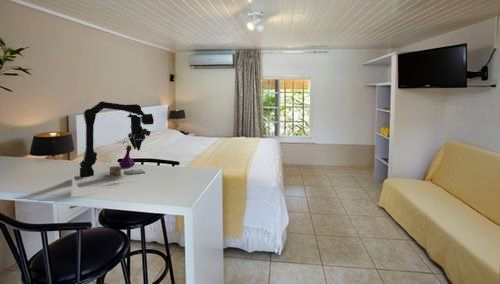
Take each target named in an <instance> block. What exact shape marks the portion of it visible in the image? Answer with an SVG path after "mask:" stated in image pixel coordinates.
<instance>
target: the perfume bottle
mask: <svg viewBox="0 0 500 284" xmlns="http://www.w3.org/2000/svg"><path fill="white" fill-rule="evenodd" d="M125 143H127V144H128V145H126V148H125V150H126V153H125V154H124V155H125V156H124V157H123V159H122V160H121V161H120V162H119V163H118V166H119V167H121V168H127V169H129V168H131V167H134V165H135V164H136V162H135V161H134V160H133V158H131V157H130V152H131V150H133V147H132V145H130V143H129V141H128V140H124V141H123V142H122V144H123V145H124V144H125Z"/></svg>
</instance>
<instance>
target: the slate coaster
mask: <svg viewBox="0 0 500 284" xmlns="http://www.w3.org/2000/svg"><path fill="white" fill-rule="evenodd" d="M123 173H124V174H125V175H127V176H131V175H132V176H133V175H141V174H146V171H145V170H143V169H131V170H124V171H123Z"/></svg>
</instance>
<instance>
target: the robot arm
mask: <svg viewBox="0 0 500 284" xmlns="http://www.w3.org/2000/svg"><path fill="white" fill-rule="evenodd" d="M104 109H107V110H115V111H123V112H127V113H129V114H128V115H127V116H126V117H127V118H130V126H129V127H130V132H129V133H128V134H127V138H128V139H129V141H130V143H131V147H132V149H134V150H137V151H141V147H142V143H143V142H144V141H145V140H146V137H150V135H151V133H152V131H150V130H148V129H147V128H143V126H142V124H143V125H146V126H147V125H148V126H149V125H154V120H155V119H154V116H153V114H152V113H145V112H144V111H143V110H142V106H141V105H139V104H123V103H116V102H115V103H114V102H106V101H99V102H98V103H97V104H95V105H94V106H93V107H91V108H88V109H85V110H84V111H83V119H84V120H83V121H84V124H85V151H84V154H83V160H82V161H80V163H79V178H89V177H94V176H95V170H94V169H93V165H95V163H96V162H97V160H98V158H97V156H98V153H97V152H96V151H95V150H94V129H95V128H94V124H95V121H96V116H97V114H98V113H100V112H101V111H102V110H104Z"/></svg>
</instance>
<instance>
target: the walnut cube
mask: <svg viewBox="0 0 500 284" xmlns="http://www.w3.org/2000/svg"><path fill="white" fill-rule="evenodd" d="M121 168H122V167H121V166H120V165H116V166H109V176H110V177H111V178H112V177H121V176H122V171H121Z"/></svg>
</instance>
